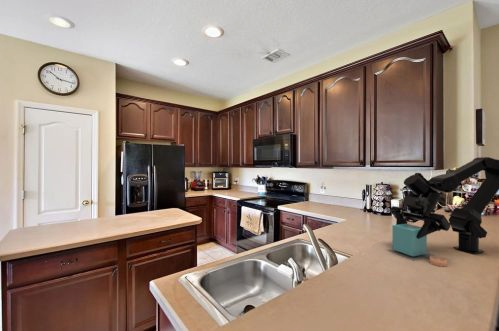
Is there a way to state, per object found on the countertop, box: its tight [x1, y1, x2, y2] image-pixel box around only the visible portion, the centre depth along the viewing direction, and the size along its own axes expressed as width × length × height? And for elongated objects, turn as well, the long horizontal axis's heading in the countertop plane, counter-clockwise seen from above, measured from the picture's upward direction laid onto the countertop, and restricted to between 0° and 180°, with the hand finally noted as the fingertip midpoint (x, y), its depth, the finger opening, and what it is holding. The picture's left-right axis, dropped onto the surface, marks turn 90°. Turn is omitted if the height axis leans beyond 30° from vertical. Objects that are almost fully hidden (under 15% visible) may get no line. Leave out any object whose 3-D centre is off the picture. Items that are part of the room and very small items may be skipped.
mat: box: [387, 248, 437, 262], centre depth 84 cm, size 12×10×1 cm
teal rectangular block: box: [391, 223, 428, 256], centre depth 83 cm, size 7×7×9 cm
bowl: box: [429, 255, 448, 268], centre depth 74 cm, size 4×4×2 cm
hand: (406, 234), depth 83 cm, fingers closed on teal rectangular block, 7 cm apart
